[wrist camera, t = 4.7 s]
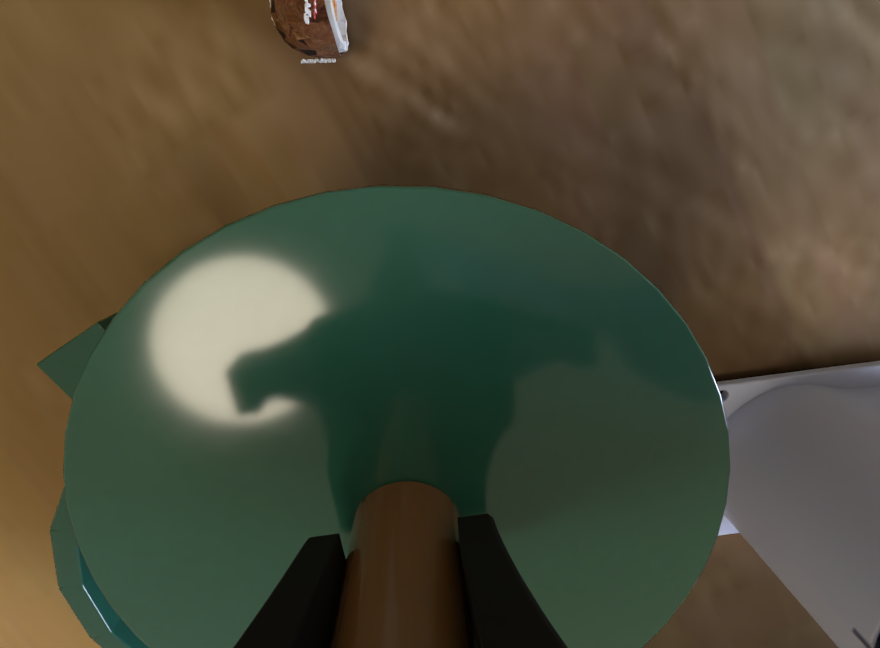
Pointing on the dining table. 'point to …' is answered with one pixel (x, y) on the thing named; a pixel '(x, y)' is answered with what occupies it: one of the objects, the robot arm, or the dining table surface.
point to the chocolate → (312, 27)
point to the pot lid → (396, 424)
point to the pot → (69, 561)
